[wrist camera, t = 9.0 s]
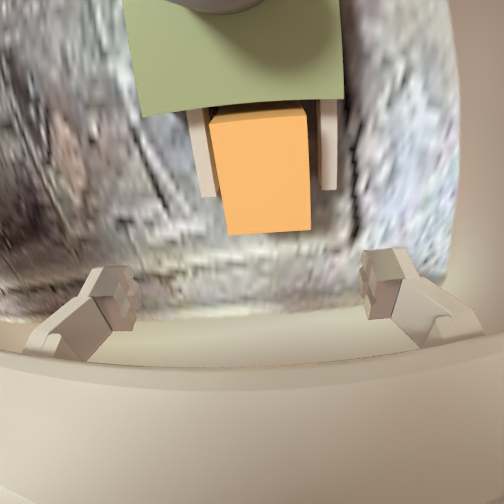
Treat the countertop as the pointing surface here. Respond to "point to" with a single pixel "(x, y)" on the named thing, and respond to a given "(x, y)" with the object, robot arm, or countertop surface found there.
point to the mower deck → (237, 65)
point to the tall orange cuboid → (263, 166)
